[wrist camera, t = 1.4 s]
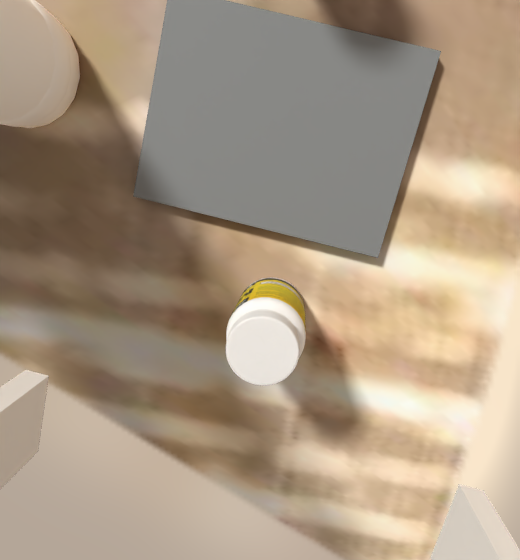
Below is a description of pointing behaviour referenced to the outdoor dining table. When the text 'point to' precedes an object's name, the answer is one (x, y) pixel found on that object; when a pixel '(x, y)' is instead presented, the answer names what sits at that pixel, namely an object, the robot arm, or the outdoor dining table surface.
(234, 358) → the supplement bottle
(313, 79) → the slate mat
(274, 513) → the outdoor dining table surface
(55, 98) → the bottle
